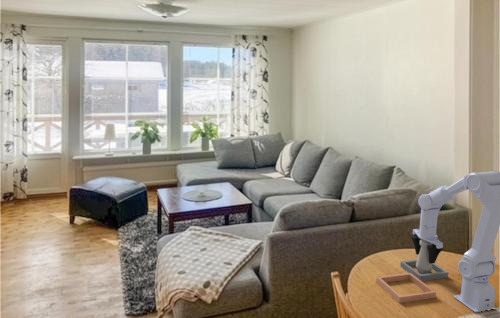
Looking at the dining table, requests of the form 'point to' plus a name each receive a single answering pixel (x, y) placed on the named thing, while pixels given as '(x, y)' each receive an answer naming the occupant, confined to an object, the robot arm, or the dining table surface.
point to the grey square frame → (439, 274)
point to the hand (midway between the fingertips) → (425, 258)
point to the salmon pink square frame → (409, 297)
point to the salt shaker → (423, 258)
